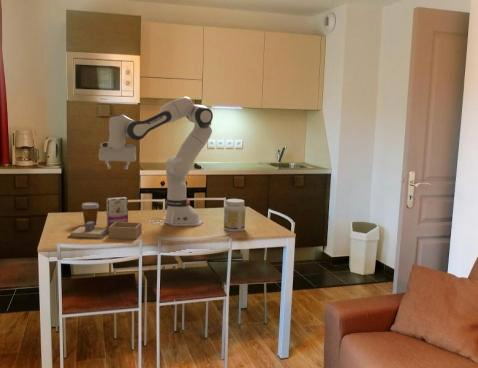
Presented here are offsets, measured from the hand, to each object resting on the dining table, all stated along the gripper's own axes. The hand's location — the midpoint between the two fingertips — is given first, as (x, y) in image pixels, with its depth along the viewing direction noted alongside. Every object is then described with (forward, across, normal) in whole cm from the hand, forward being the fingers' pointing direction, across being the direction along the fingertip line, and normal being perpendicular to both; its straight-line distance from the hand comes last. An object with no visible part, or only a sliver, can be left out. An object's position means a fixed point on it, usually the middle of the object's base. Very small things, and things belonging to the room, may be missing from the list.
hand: (117, 169), depth 269 cm
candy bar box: (+33, +1, -2) cm, 33 cm away
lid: (+33, +10, +17) cm, 38 cm away
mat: (+33, +10, +17) cm, 38 cm away
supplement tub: (+33, -65, -7) cm, 73 cm away
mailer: (+33, -9, +17) cm, 38 cm away
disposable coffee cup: (+33, +17, -4) cm, 37 cm away
